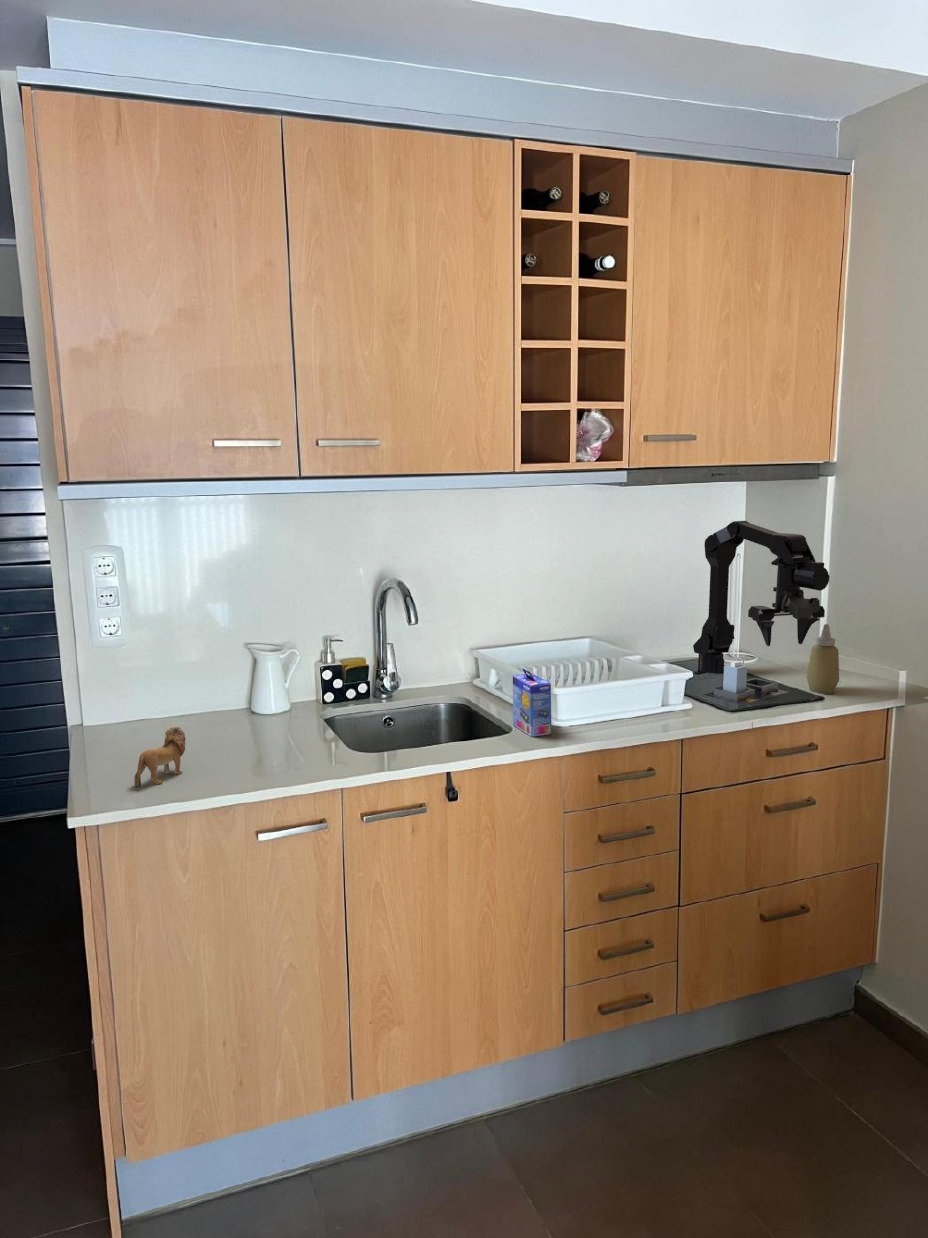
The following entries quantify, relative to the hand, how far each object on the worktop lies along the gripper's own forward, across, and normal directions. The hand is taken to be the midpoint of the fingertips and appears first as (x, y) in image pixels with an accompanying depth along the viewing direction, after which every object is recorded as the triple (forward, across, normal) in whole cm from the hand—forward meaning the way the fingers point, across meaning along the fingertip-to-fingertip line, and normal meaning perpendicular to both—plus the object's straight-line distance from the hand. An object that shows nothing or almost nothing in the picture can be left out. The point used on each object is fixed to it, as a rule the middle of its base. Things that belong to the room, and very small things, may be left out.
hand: (784, 644), depth 240 cm
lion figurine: (+14, -152, -20) cm, 154 cm away
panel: (+14, -9, +2) cm, 16 cm away
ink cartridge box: (+14, -71, -10) cm, 73 cm away
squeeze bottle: (+14, +13, +1) cm, 19 cm away
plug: (+13, -14, 0) cm, 19 cm away
